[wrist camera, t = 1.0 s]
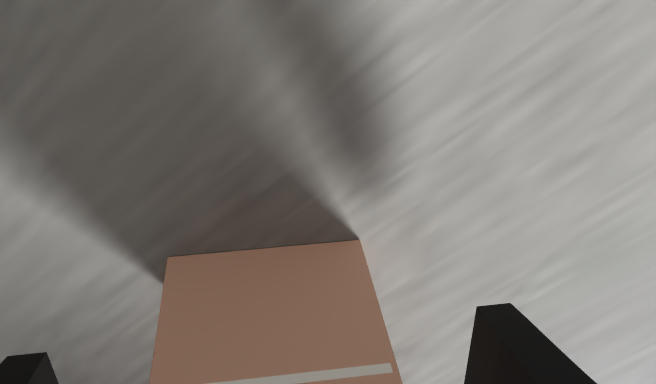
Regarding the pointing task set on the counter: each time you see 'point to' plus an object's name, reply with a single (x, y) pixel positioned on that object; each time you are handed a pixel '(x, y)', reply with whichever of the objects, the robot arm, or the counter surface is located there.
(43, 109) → the counter surface
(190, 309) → the tile
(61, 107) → the counter surface
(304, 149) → the counter surface
